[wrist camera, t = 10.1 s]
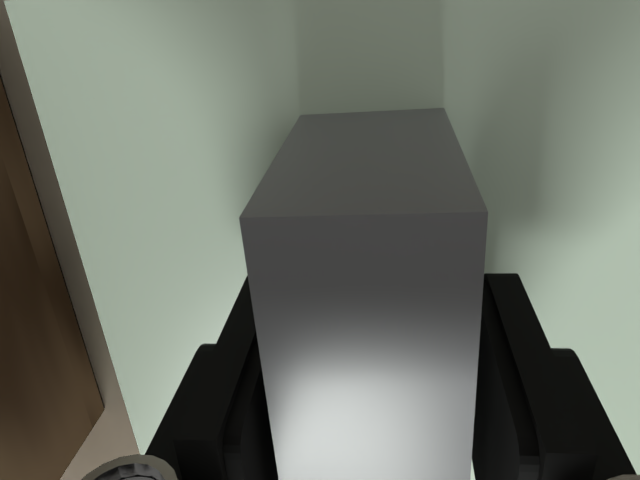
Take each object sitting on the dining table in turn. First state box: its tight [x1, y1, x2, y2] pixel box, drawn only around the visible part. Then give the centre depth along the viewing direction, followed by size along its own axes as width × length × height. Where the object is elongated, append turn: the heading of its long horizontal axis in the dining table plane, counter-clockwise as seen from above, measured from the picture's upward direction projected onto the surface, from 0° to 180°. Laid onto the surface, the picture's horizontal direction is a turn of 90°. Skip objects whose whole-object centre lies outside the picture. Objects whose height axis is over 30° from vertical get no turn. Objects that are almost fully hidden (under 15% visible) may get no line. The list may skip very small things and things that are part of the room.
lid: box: [4, 0, 640, 480], centre depth 10 cm, size 12×12×7 cm
